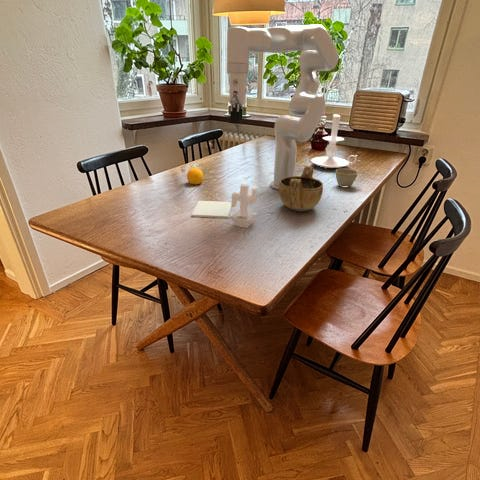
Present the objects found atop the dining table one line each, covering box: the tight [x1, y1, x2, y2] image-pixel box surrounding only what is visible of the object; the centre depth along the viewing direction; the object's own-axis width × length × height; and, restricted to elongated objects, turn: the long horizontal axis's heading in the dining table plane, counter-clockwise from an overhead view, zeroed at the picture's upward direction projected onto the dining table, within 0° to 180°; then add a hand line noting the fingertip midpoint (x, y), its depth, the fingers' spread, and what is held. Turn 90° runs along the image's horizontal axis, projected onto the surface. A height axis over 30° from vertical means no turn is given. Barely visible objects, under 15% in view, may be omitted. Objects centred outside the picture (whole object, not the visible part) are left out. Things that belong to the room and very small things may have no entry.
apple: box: [186, 167, 205, 185], centre depth 155 cm, size 8×8×8 cm
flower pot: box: [335, 168, 359, 187], centre depth 153 cm, size 10×10×7 cm
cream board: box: [191, 200, 233, 219], centre depth 128 cm, size 14×14×1 cm
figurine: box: [229, 183, 258, 229], centre depth 114 cm, size 7×9×15 cm
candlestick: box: [310, 113, 358, 169], centre depth 175 cm, size 21×25×28 cm
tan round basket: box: [278, 165, 324, 212], centre depth 127 cm, size 22×17×15 cm
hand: (236, 121), depth 121 cm, fingers open, 9 cm apart
